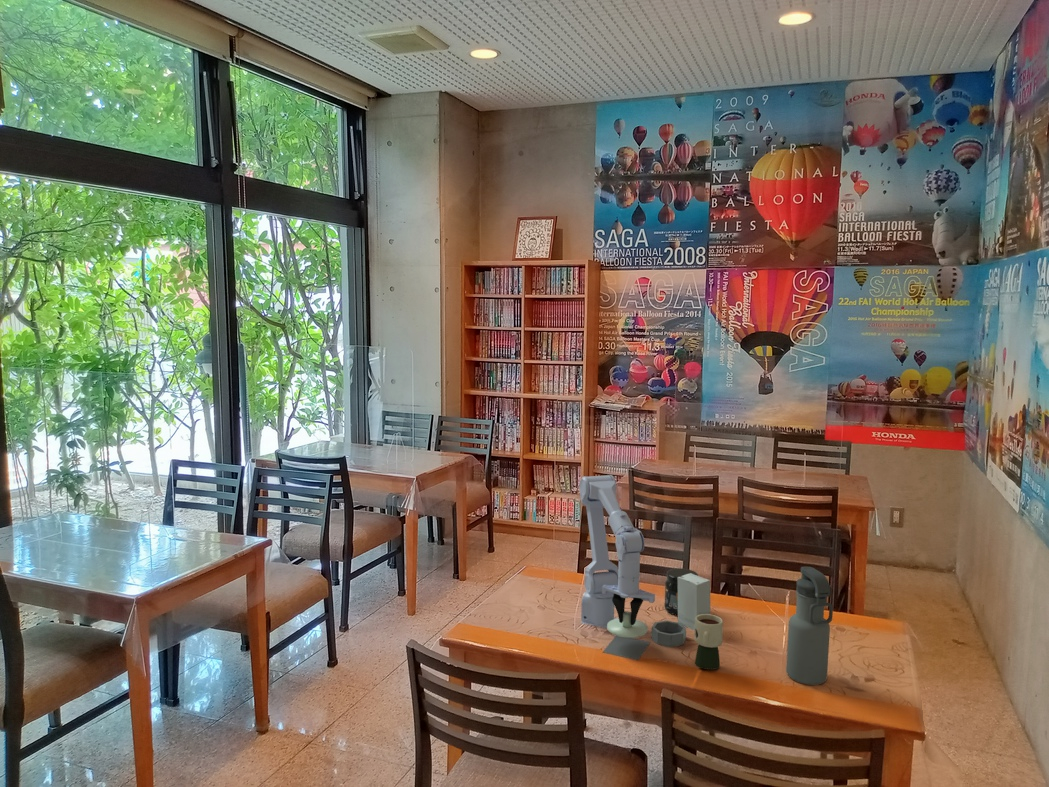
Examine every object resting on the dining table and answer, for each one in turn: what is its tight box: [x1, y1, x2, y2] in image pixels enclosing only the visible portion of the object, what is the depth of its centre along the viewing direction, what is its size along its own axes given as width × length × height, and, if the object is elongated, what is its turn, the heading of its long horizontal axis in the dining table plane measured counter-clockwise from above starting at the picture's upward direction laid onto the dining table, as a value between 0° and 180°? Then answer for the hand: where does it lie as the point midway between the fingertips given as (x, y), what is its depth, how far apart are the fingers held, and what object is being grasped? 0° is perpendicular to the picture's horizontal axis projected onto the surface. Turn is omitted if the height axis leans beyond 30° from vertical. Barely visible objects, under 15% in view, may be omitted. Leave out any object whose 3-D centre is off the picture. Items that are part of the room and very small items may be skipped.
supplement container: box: [663, 567, 699, 616], centre depth 226 cm, size 10×10×12 cm
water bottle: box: [785, 566, 834, 686], centre depth 184 cm, size 10×10×28 cm
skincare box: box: [677, 573, 711, 631], centre depth 215 cm, size 8×6×15 cm
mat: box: [602, 635, 651, 661], centre depth 201 cm, size 10×12×1 cm
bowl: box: [650, 620, 687, 648], centre depth 205 cm, size 9×9×4 cm
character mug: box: [694, 613, 724, 670], centre depth 190 cm, size 11×7×13 cm, turn 156°
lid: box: [606, 610, 649, 639], centre depth 200 cm, size 11×11×4 cm
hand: (627, 622), depth 200 cm, fingers closed on lid, 3 cm apart
